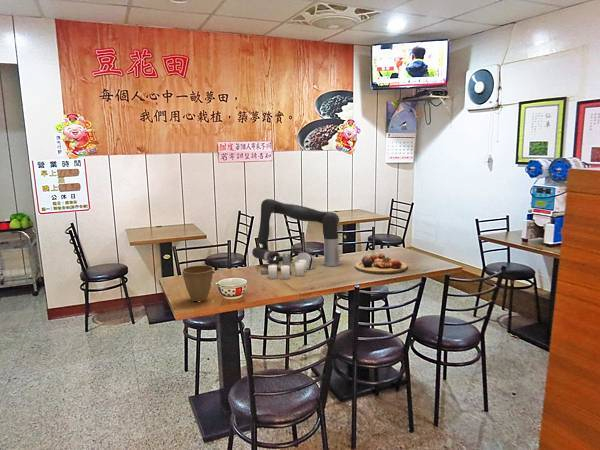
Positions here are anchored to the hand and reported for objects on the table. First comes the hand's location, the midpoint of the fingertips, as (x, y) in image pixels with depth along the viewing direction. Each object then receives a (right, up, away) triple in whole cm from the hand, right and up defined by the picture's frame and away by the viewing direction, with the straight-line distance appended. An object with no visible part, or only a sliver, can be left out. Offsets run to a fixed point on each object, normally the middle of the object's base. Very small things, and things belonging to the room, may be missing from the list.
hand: (284, 262), depth 261 cm
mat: (-11, -7, +4) cm, 13 cm away
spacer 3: (+9, -7, -4) cm, 12 cm away
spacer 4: (+11, -6, +4) cm, 13 cm away
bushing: (+1, -7, -1) cm, 7 cm away
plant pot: (-41, -15, -44) cm, 62 cm away
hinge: (+12, -5, +16) cm, 20 cm away
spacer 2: (+1, -8, -9) cm, 12 cm away
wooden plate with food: (+59, -5, +9) cm, 60 cm away
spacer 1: (-7, -8, -7) cm, 13 cm away
